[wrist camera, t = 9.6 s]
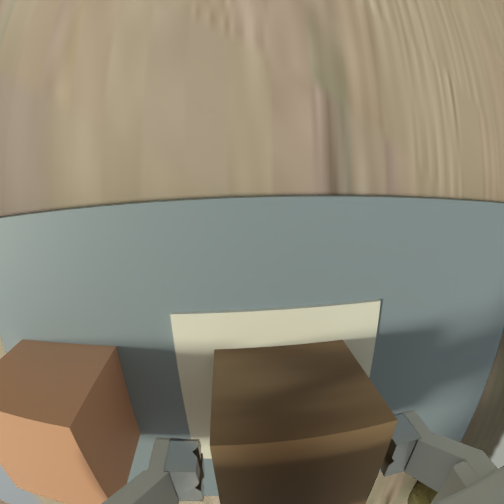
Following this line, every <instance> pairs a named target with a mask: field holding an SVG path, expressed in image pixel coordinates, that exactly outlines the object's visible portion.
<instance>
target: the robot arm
mask: <svg viewBox="0 0 504 504" xmlns="http://www.w3.org/2000/svg"><path fill="white" fill-rule="evenodd" d="M394 415H395V417H396V418H397V420H398V421H397V424H396V427H395V430H394V433H393V436H392V439H391V441H390V444H389V447H388V450H387V453H386V455H385V458H384V460H383V463H382V466H381V468H380V469H381V471H382V473H383V475H384V476H388V475H391V474H395V473H398V472H402V471H404V472H405V473H407V474H409V475H410V476H412V477H413V478H415V479H417V480H418V481H420V482H422V483H423V484H425V485H427V486H428V487H430V488H432V489H433V490H435V491H437V492H438V493H437V494H436V496H435V497H434V499H433V500H432V502H431V504H504V466H503V467H501V468H499V469H497V467H496V466H495V465H494V464H493V462H492V461H491V460H490V459H489V457H488V456H487V455H486V454H485V453H484V451H482V450H479V449H476V448H474V447H471V446H468V445H465V444H463V443H460V442H457V441H455V440H452V439H449V438H447V437H444V436H442V435H439V434H437V433H436V434H433V433H432V432H431V431H430V430H429V428H428V427H427V426H426V424H425V423H424V422H423V420H422V419H421V418H420V417H419V415H418V414H417V413H416V411H415V410H409V411H405V412H402V413H398V414H394ZM204 474H205V469H204V458H203V454H202V453H201V443H200V440H199V439H180V438H160V437H157V438H156V439H155V441H154V445H153V450H152V454H151V459H150V463H149V468H148V471H147V470H144V471H142V472H141V473H140V474H139V475H137V476H136V477H135V478H134V479H132V480H131V481H130V482H129V483H127V484H126V485H125V486H124V487H122V488H121V489H120V490H118V491H117V492H116V493H114V494H113V495H112V496H111V497H109V498H108V499H107V500H105V501H104V502H103V503H101V504H178V503H179V501H203V500H204V484H203V480H202V479H203V478H204ZM0 504H8V503H6V502H4V501H1V500H0Z"/></svg>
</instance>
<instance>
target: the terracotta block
mask: <svg viewBox="0 0 504 504" xmlns="http://www.w3.org/2000/svg"><path fill="white" fill-rule="evenodd" d="M139 438H140V431H139V428H138V424H137V421H136V418H135V415H134V412H133V408H132V405H131V402H130V398H129V395H128V391H127V387H126V384H125V380H124V376H123V372H122V368H121V364H120V360H119V356H118V352H117V347H116V346H106V345H86V344H70V343H57V342H45V341H35V340H25V339H22V340H21V341H20V342H19V343H17V344H16V345H15V346H14V347H13V348H12V349H11V350H10V351H9V352H8V353H7V354H6V355H5V356H4V357H2V358H1V359H0V464H1V466H2V467H3V469H4V470H5V472H6V473H7V474H8V476H9V477H10V478H11V480H12V481H13V482H14V484H15V485H16V486H17V487H18V488H20V489H23V490H26V491H28V492H31V493H34V494H37V495H40V496H43V497H46V498H49V499H52V500H56V501H59V502H62V503H66V504H101V503H103V502H104V501H105V500H107V499H108V498H109V497H111V496H112V495H113V494H114V493H116V492H117V491H118V490H120V489H121V488H122V487H124V486H125V485H126V484H127V482H128V478H129V474H130V470H131V467H132V463H133V459H134V456H135V452H136V448H137V445H138V441H139Z"/></svg>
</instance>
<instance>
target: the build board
mask: <svg viewBox="0 0 504 504" xmlns="http://www.w3.org/2000/svg"><path fill="white" fill-rule="evenodd" d="M503 330H504V202H493V201H480V200H466V199H449V198H430V197H406V196H370V195H277V196H239V197H213V198H193V199H175V200H159V201H145V202H132V203H120V204H108V205H97V206H87V207H77V208H68V209H59V210H50V211H41V212H33V213H26V214H18V215H11V216H4V217H0V336H1V340H2V343H3V346H4V349H5V352H6V354H7V353H8V352H9V351H10V350H11V349H12V348H13V347H14V346H15V345H16V344H17V343H19V342H20V341H21V340H22V339H25V340H35V341H45V342H57V343H70V344H86V345H106V346H116V347H117V352H118V356H119V360H120V364H121V368H122V372H123V376H124V380H125V384H126V387H127V391H128V395H129V398H130V402H131V405H132V408H133V412H134V415H135V418H136V421H137V424H138V428H139V431H140V438H139V441H138V445H137V448H136V452H135V456H134V459H133V463H132V467H131V470H130V474H129V478H128V482H127V483H129V482H130V481H131V480H132V479H134V478H135V477H136V476H137V475H139V474H140V473H141V472H142V471H144V470H147V471H148V468H149V463H150V459H151V454H152V450H153V445H154V441H155V439H156V438H157V437H160V438H180V439H199V440H200V443H201V453H202V454H203V458H204V469H205V474H204V478H203V479H202V480H203V484H204V496H219V494H218V489H217V484H216V478H215V473H214V468H213V462H212V456H211V451H210V423H211V400H212V380H213V362H214V349H239V348H257V347H272V346H285V345H297V344H307V343H317V342H327V341H336V340H343V341H344V342H345V344H346V345H347V347H348V348H349V350H350V351H351V352H352V354H353V355H354V357H355V358H356V360H357V361H358V363H359V364H360V365H361V367H362V368H363V370H364V371H365V373H366V374H367V376H368V377H369V379H370V380H371V381H372V383H373V384H374V386H375V387H376V389H377V390H378V392H379V393H380V395H381V396H382V398H383V399H384V401H385V402H386V404H387V405H388V407H389V408H390V409H391V411H392V412H393V414H398V413H402V412H405V411H409V410H415V411H416V413H417V414H418V415H419V417H420V418H421V419H422V420H423V422H424V423H425V424H426V426H427V427H428V428H429V430H430V431H431V432H432V433H433V434H436V433H437V434H439V435H442V436H444V437H447V438H449V439H452V440H455V441H457V442H461V440H462V438H463V436H464V434H465V432H466V430H467V428H468V426H469V424H470V422H471V419H472V417H473V415H474V413H475V410H476V408H477V406H478V403H479V401H480V398H481V396H482V393H483V391H484V388H485V386H486V383H487V380H488V378H489V375H490V372H491V369H492V366H493V363H494V360H495V357H496V354H497V351H498V347H499V344H500V341H501V337H502V333H503ZM380 472H382V471H381V469H380V471H379V473H380Z"/></svg>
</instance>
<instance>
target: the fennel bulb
mask: <svg viewBox="0 0 504 504" xmlns="http://www.w3.org/2000/svg"><path fill="white" fill-rule="evenodd" d="M437 493H438V492H437V491H435V490H433V489H432V488H430V487H428V486H427V485H425V484H423V483H422V482H420V481H418V483H417V484H416V485H415V486H414V488H413V489H412V491H411V493H410V495H409V498H408V504H431V502H432V500H433V499H434V497H435V496H436V494H437Z"/></svg>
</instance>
